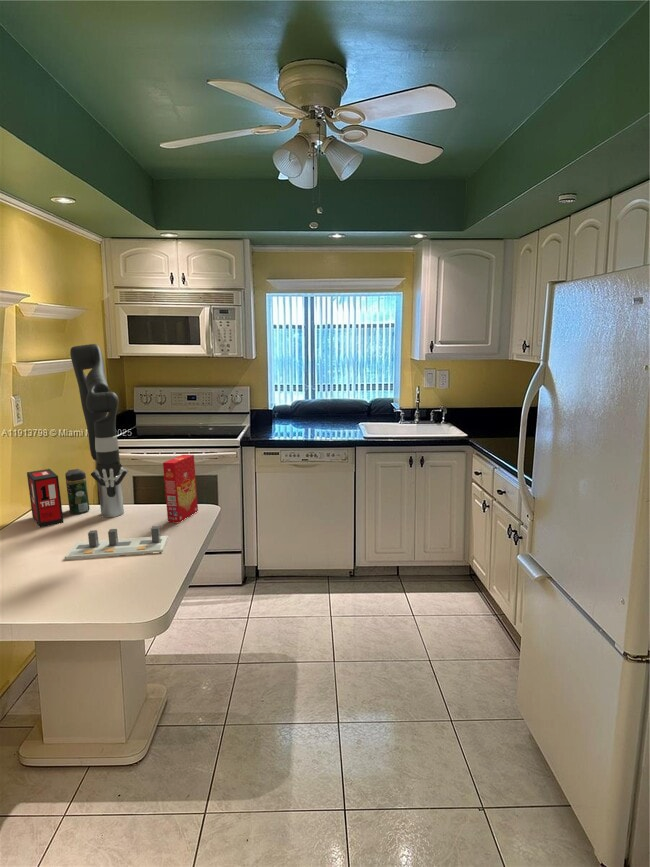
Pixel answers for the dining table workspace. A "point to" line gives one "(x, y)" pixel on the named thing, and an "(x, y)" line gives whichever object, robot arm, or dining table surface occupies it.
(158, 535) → the switch
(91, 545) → the switch
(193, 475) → the food packaging
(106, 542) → the switch panel
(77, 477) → the coffee jar
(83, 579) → the dining table surface
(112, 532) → the middle switch
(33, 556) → the dining table surface
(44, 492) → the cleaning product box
